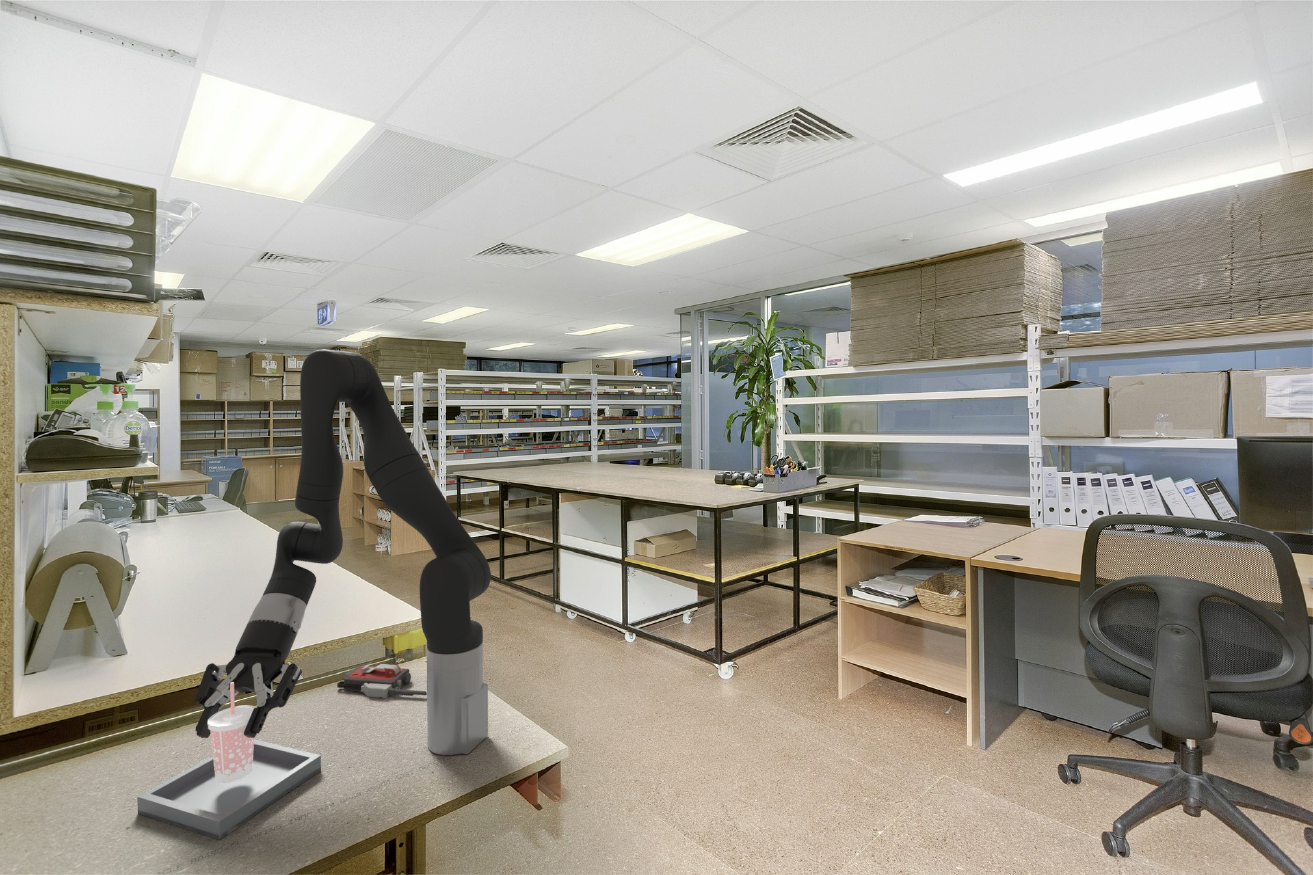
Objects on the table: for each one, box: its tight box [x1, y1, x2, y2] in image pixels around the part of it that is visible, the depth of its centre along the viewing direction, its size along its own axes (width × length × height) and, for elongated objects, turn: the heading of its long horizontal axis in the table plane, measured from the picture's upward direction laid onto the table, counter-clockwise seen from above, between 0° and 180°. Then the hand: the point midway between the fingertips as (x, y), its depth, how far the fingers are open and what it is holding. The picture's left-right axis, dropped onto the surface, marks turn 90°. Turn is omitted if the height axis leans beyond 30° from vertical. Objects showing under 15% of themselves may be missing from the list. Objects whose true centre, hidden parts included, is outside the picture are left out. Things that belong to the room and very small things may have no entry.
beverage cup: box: [208, 682, 257, 783], centre depth 88 cm, size 6×6×14 cm
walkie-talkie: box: [336, 663, 427, 699], centre depth 122 cm, size 9×4×20 cm
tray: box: [136, 738, 322, 841], centre depth 88 cm, size 16×16×2 cm
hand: (225, 736), depth 86 cm, fingers closed on beverage cup, 6 cm apart
